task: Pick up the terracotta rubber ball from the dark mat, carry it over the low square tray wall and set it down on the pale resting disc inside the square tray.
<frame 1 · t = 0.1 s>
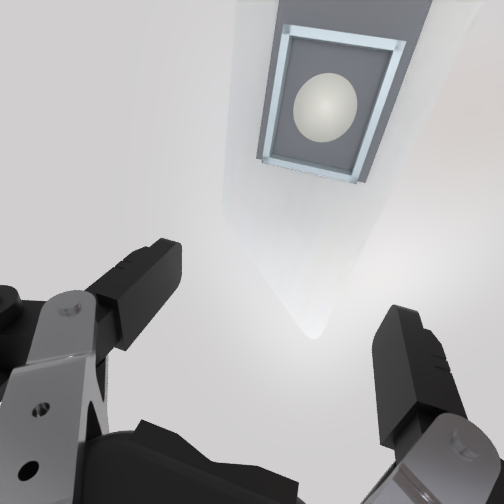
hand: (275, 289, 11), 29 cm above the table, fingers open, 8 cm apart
square tray: (324, 109, 32), resting on mat
mat: (337, 56, 30), on the table
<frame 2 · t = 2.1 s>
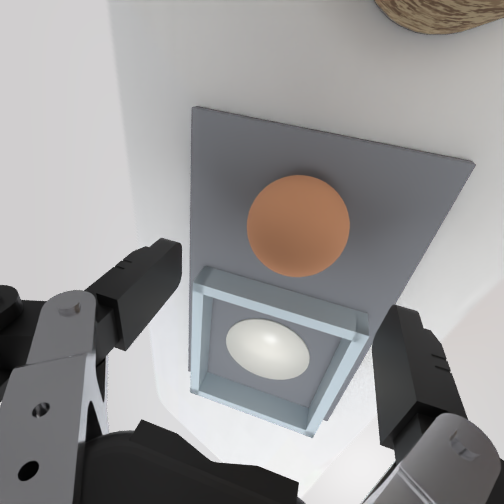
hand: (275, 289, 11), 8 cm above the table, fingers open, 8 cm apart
square tray: (266, 349, 24), resting on mat
mat: (279, 301, 21), on the table
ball: (303, 207, 16), point 1 cm above the table, touching mat
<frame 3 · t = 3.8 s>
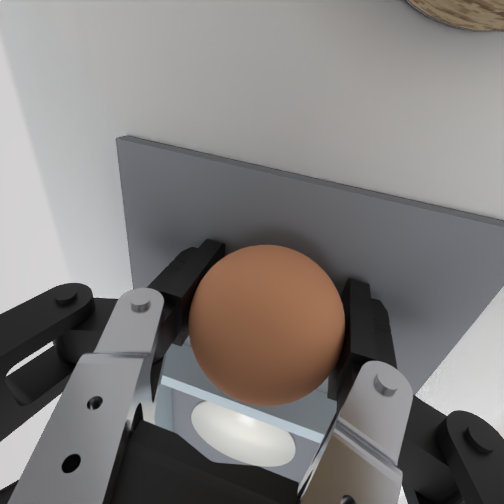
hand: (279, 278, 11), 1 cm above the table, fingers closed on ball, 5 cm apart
square tray: (242, 432, 19), resting on mat
mat: (255, 380, 16), on the table
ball: (280, 277, 12), point 1 cm above the table, touching gripper, mat
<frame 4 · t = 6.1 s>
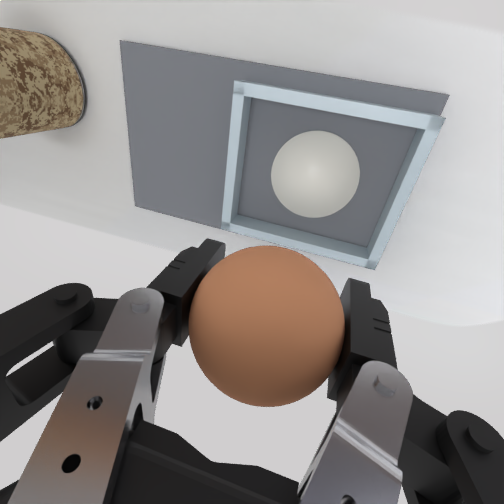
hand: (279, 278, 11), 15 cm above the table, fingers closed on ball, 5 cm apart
square tray: (313, 176, 23), resting on mat
mat: (256, 162, 25), on the table
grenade: (53, 82, 26), on the table
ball: (280, 277, 12), point 15 cm above the table, touching gripper
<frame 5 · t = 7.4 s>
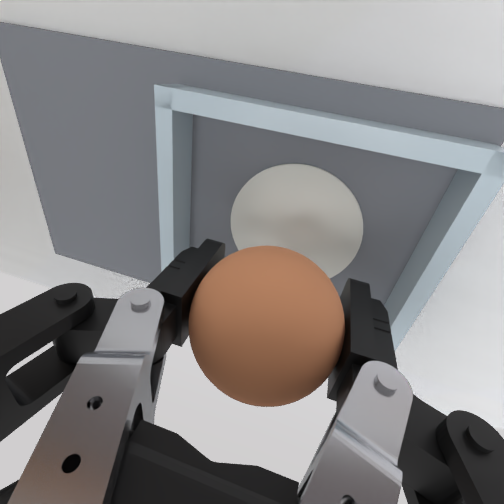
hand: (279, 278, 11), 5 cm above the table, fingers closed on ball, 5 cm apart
square tray: (293, 229, 15), resting on mat
mat: (211, 203, 17), on the table
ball: (280, 277, 12), point 5 cm above the table, touching gripper
when the fingers open (4 cm above the table, at t = 8.5 s): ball drops 3 cm, resting on square tray.
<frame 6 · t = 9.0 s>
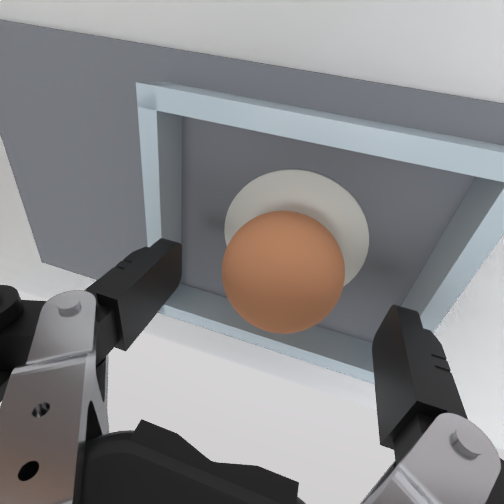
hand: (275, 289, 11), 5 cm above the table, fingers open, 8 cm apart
square tray: (292, 240, 14), resting on mat
mat: (203, 211, 15), on the table
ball: (291, 242, 14), point 1 cm above the table, touching square tray
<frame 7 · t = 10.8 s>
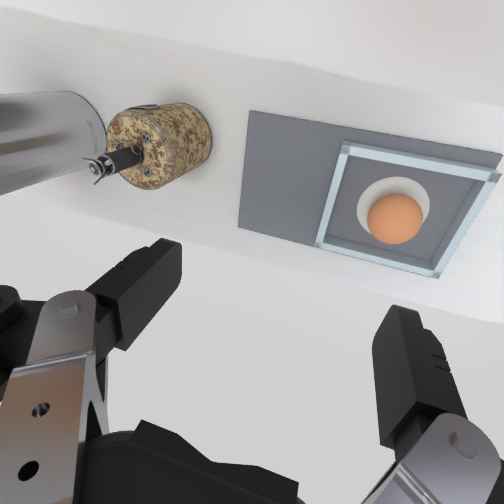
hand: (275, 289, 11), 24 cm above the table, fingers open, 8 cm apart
square tray: (391, 208, 31), resting on mat
mat: (344, 196, 32), on the table
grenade: (185, 135, 35), on the table
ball: (391, 209, 31), point 1 cm above the table, touching square tray
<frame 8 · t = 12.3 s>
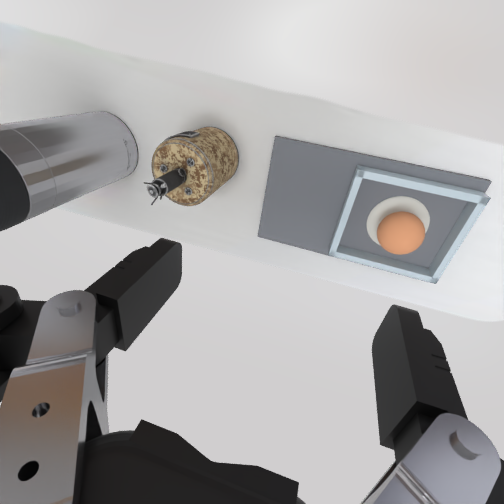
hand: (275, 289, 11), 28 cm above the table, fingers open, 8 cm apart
square tray: (396, 223, 36), resting on mat
mat: (356, 211, 37), on the table
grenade: (213, 154, 39), on the table
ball: (396, 224, 35), point 1 cm above the table, touching square tray
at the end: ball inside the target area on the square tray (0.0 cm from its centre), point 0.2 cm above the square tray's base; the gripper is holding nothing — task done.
